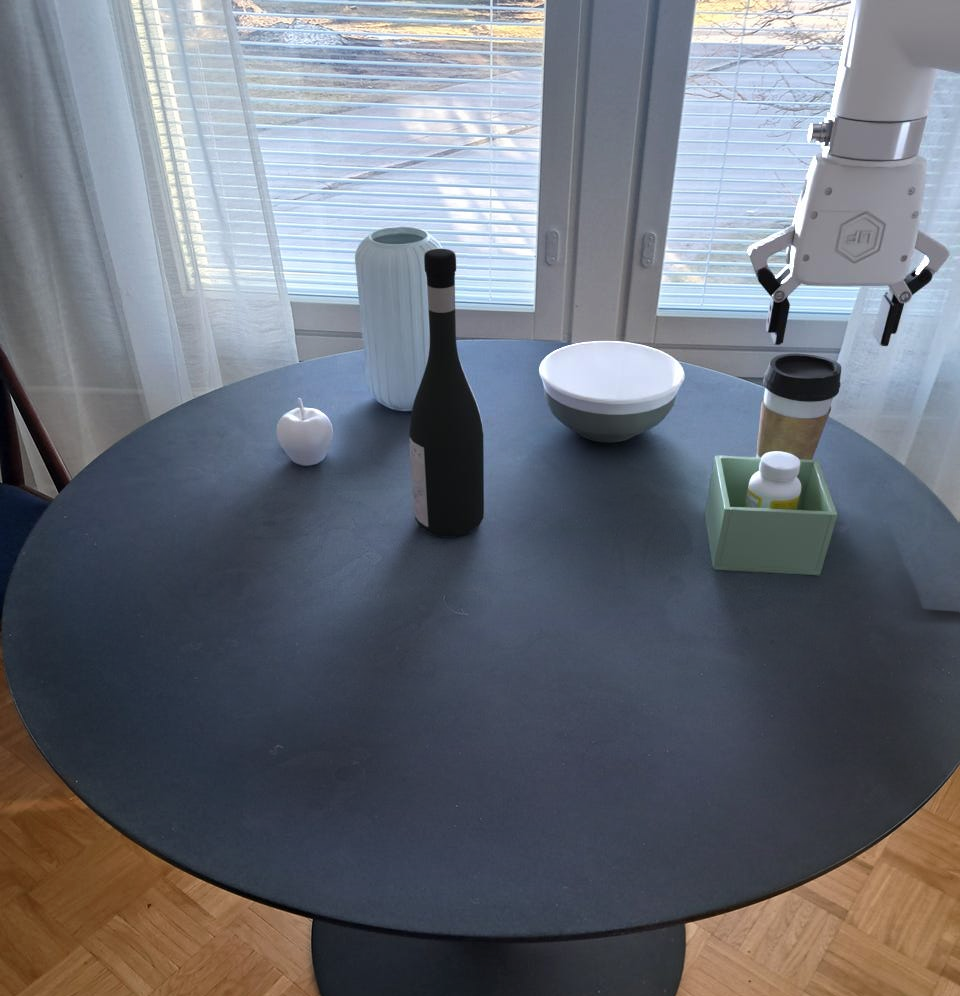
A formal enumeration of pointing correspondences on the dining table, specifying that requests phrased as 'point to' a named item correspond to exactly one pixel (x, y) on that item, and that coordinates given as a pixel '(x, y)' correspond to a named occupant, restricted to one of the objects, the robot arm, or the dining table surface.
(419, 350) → the vase
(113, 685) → the dining table surface
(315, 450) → the plain white apple
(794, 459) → the supplement bottle
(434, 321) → the wine bottle
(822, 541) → the bin
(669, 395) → the bowl
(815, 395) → the coffee cup
